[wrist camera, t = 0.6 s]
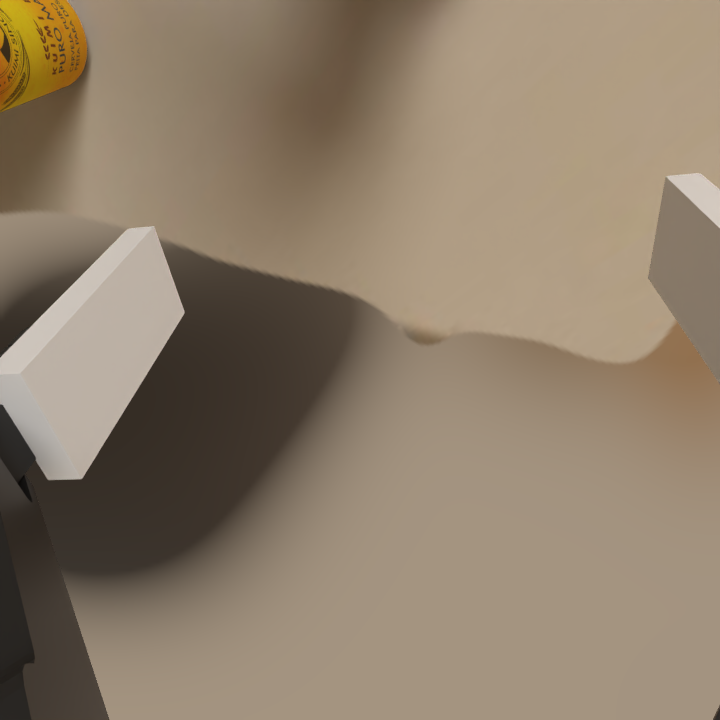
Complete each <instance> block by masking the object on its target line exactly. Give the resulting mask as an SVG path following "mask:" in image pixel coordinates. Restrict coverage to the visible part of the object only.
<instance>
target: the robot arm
mask: <svg viewBox="0 0 720 720" xmlns="http://www.w3.org/2000/svg"><path fill="white" fill-rule="evenodd" d="M648 279H649V280H650V282H651V283H652V285H653V286H654V288H655V289H656V291H657V292H658V293H659V295H660V296H661V298H662V299H663V301H664V302H665V304H666V305H667V307H668V308H669V310H670V311H671V313H672V314H673V316H674V317H675V319H676V320H677V322H678V323H679V324H680V326H681V327H682V329H683V330H684V332H685V333H686V335H687V336H688V338H689V339H690V341H691V342H692V344H693V345H694V346H695V348H696V350H697V351H698V353H699V354H700V356H701V357H702V358H703V360H704V361H705V363H706V364H707V366H708V367H709V369H710V370H711V372H712V373H713V375H714V376H715V378H716V379H717V381H718V382H719V384H720V190H719V189H718V188H717V187H716V186H715V185H714V184H712V183H711V182H710V181H709V180H708V179H706V178H705V177H704V176H703V175H702V174H700V173H694V174H684V175H673V176H666V177H665V183H664V189H663V195H662V200H661V206H660V212H659V218H658V223H657V229H656V235H655V241H654V247H653V252H652V258H651V264H650V270H649V275H648ZM183 315H184V309H183V306H182V304H181V301H180V298H179V295H178V292H177V290H176V287H175V284H174V281H173V278H172V275H171V273H170V270H169V267H168V264H167V261H166V258H165V256H164V253H163V250H162V247H161V245H160V242H159V239H158V236H157V233H156V230H155V227H154V226H151V227H140V228H130V229H127V230H126V231H125V232H124V233H123V234H122V235H121V236H120V237H119V238H118V239H117V240H116V241H115V242H114V243H113V244H112V245H111V246H110V247H109V248H108V249H107V250H106V251H105V252H104V253H103V254H102V255H101V257H99V258H98V259H97V260H96V261H95V262H94V263H93V264H92V265H91V266H90V267H89V268H88V270H86V272H85V273H84V274H83V275H82V276H81V277H80V278H79V279H78V280H77V281H76V282H75V283H74V284H73V285H72V286H71V287H70V288H69V289H68V290H67V291H66V292H65V293H64V294H63V295H62V296H61V297H60V298H59V299H58V300H57V301H56V302H55V303H54V304H53V305H52V306H51V307H50V308H49V309H48V310H47V311H46V312H45V313H44V314H43V315H42V316H41V317H40V318H39V319H38V320H37V321H36V322H35V323H34V324H32V325H31V326H29V327H27V328H26V329H24V330H22V331H21V332H20V333H19V334H18V335H17V336H16V337H15V338H14V339H13V340H12V341H11V342H10V343H9V344H8V347H5V348H4V349H3V350H2V351H1V352H0V720H109V717H108V714H107V711H106V708H105V705H104V702H103V699H102V696H101V693H100V690H99V687H98V683H97V680H96V677H95V674H94V671H93V668H92V665H91V662H90V659H89V656H88V653H87V650H86V647H85V644H84V640H83V637H82V634H81V631H80V628H79V625H78V622H77V619H76V616H75V613H74V610H73V607H72V604H71V600H70V597H69V594H68V591H67V588H66V585H65V582H64V579H63V576H62V573H61V570H60V567H59V564H58V561H57V557H56V554H55V551H54V548H53V545H52V542H51V539H50V536H49V533H48V530H47V527H46V524H45V521H44V518H43V515H42V511H41V508H40V505H39V502H38V499H37V496H36V493H35V490H34V487H33V485H32V483H31V482H30V480H29V479H28V478H27V476H26V475H25V473H26V472H27V470H28V469H29V468H30V466H31V465H32V463H33V462H34V461H35V460H36V462H37V463H38V465H39V466H40V468H41V469H42V471H43V473H44V474H45V476H46V477H47V479H48V480H64V479H82V478H83V476H84V475H85V473H86V472H87V470H88V468H89V467H90V465H91V463H92V462H93V460H94V459H95V457H96V455H97V454H98V452H99V450H100V449H101V447H102V446H103V444H104V442H105V440H106V439H107V438H108V436H109V434H110V433H111V431H112V429H113V428H114V426H115V425H116V423H117V421H118V420H119V418H120V417H121V415H122V413H123V412H124V410H125V408H126V407H127V405H128V404H129V402H130V400H131V399H132V397H133V395H134V394H135V392H136V391H137V389H138V387H139V386H140V384H141V383H142V381H143V379H144V378H145V376H146V374H147V373H148V371H149V370H150V368H151V366H152V365H153V363H154V362H155V360H156V358H157V357H158V355H159V353H160V352H161V350H162V349H163V347H164V345H165V344H166V342H167V341H168V339H169V337H170V336H171V334H172V332H173V331H174V329H175V328H176V326H177V324H178V323H179V321H180V320H181V318H182V316H183ZM713 720H720V706H719V708H718V711H717V712H716V714H715V716H714V718H713Z"/></svg>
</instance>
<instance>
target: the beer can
mask: <svg viewBox="0 0 720 720" xmlns="http://www.w3.org/2000/svg"><path fill="white" fill-rule="evenodd" d="M86 59H87V42H86V37H85V33H84V29H83V27H82V24H81V22H80V20H79V18H78V16H77V14H76V12H75V11H74V9H73V8H72V6H71V5H70V4H69V2H68V1H67V0H0V112H3V111H5V110H8V109H11V108H13V107H16V106H18V105H21V104H23V103H26V102H28V101H31V100H33V99H36V98H38V97H41V96H43V95H46V94H48V93H51V92H53V91H56V90H59V89H61V88H64V87H66V86H68V85H70V84H72V83H73V82H74V81H76V80H77V79H78V77H79V76H80V75H81V73H82V71H83V69H84V67H85V63H86Z"/></svg>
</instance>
